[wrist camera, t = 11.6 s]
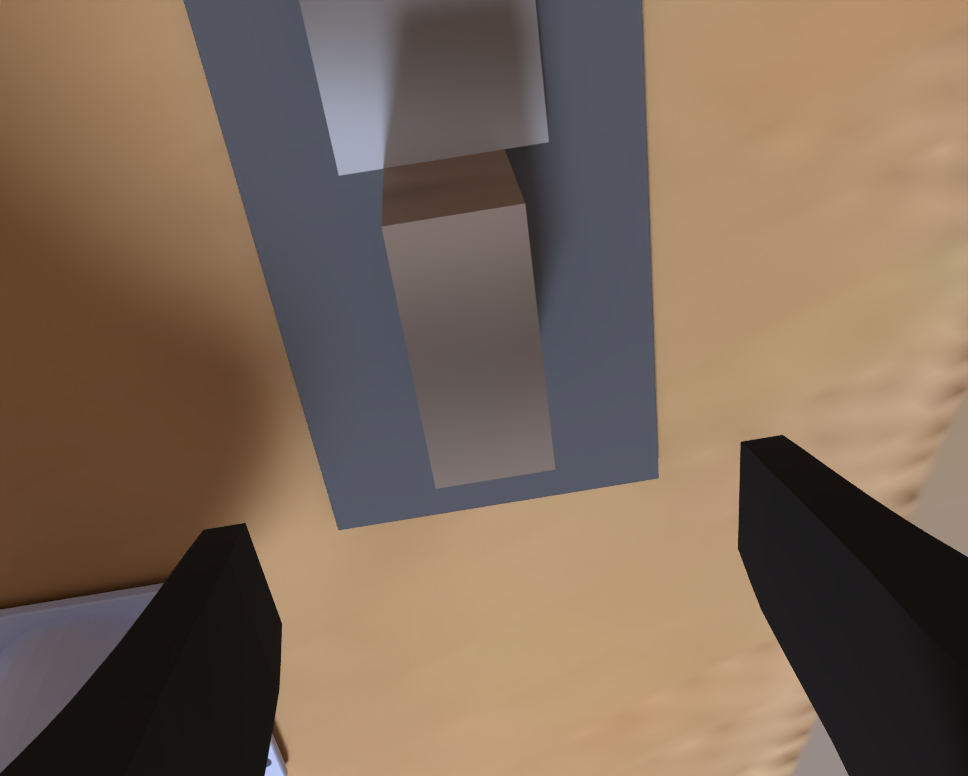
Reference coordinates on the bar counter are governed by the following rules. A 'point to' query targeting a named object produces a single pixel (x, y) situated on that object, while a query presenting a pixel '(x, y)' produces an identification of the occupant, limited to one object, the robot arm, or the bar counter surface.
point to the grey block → (449, 208)
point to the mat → (367, 277)
